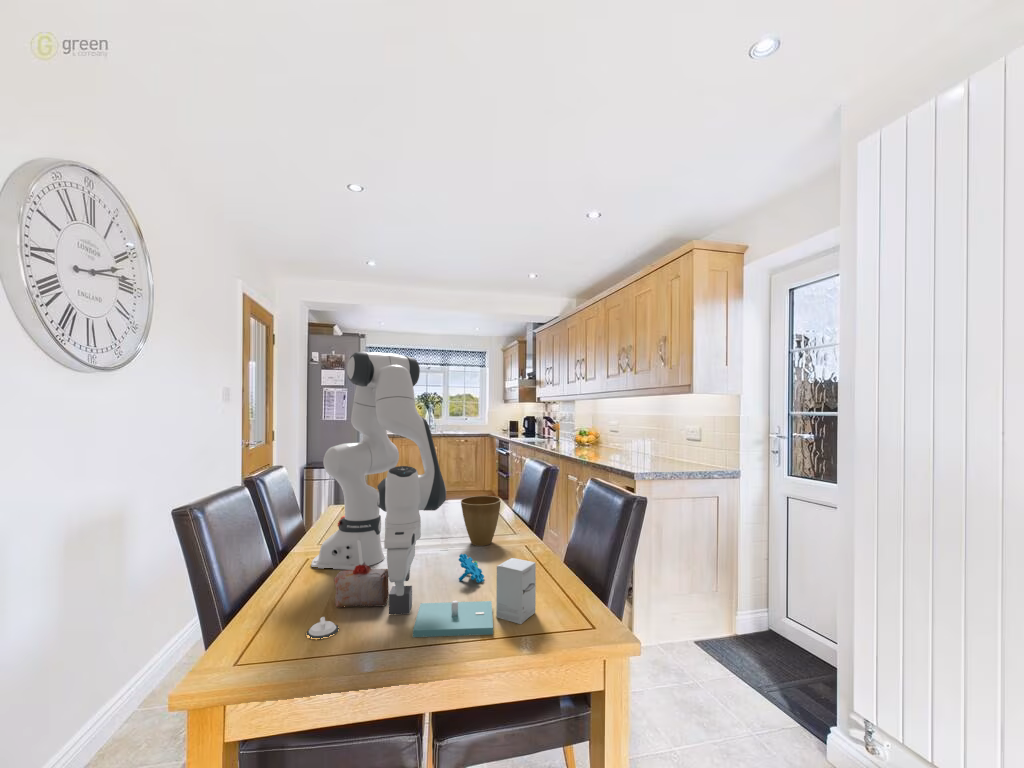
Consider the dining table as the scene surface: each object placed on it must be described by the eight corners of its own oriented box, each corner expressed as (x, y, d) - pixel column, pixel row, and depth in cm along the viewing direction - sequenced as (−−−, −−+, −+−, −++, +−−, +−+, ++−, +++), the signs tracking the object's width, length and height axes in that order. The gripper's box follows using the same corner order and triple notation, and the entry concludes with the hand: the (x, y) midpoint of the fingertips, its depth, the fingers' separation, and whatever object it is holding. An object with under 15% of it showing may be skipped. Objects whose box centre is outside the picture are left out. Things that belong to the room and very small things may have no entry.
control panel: (412, 637, 104) (412, 616, 104) (420, 609, 118) (420, 591, 118) (493, 634, 105) (493, 614, 106) (491, 606, 119) (491, 589, 119)
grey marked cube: (388, 614, 115) (388, 593, 115) (392, 605, 120) (392, 585, 120) (409, 614, 115) (409, 593, 116) (412, 605, 120) (412, 585, 121)
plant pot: (478, 534, 183) (478, 494, 183) (508, 541, 174) (508, 498, 175) (452, 544, 171) (452, 500, 171) (483, 552, 162) (483, 506, 163)
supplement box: (521, 625, 110) (521, 571, 110) (495, 617, 114) (495, 565, 114) (536, 613, 116) (536, 561, 116) (511, 606, 120) (511, 556, 120)
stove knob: (304, 644, 102) (305, 631, 102) (305, 629, 108) (305, 616, 109) (340, 637, 105) (340, 624, 105) (338, 623, 111) (338, 611, 111)
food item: (330, 610, 118) (330, 571, 118) (339, 597, 125) (340, 560, 126) (385, 609, 118) (385, 569, 119) (391, 595, 126) (391, 559, 127)
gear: (480, 583, 130) (457, 555, 133) (465, 598, 131) (443, 569, 133) (490, 574, 141) (468, 548, 144) (476, 588, 141) (455, 562, 144)
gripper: (397, 522, 128) (397, 573, 128) (382, 543, 108) (382, 604, 107) (420, 521, 129) (420, 572, 128) (410, 542, 108) (410, 603, 108)
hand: (403, 587), depth 118 cm, fingers open, 8 cm apart
